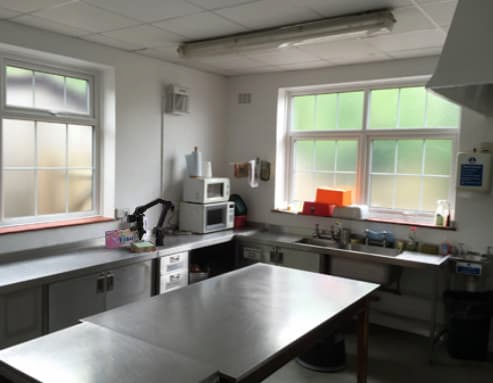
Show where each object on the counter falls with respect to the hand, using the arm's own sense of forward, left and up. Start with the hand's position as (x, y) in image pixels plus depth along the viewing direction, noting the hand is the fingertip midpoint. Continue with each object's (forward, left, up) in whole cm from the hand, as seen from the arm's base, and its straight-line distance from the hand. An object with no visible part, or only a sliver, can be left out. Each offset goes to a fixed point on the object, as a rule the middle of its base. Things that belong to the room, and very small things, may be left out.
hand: (140, 240), depth 365 cm
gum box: (+13, -14, -6) cm, 20 cm away
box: (0, +9, -6) cm, 11 cm away
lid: (0, +9, -2) cm, 9 cm away
